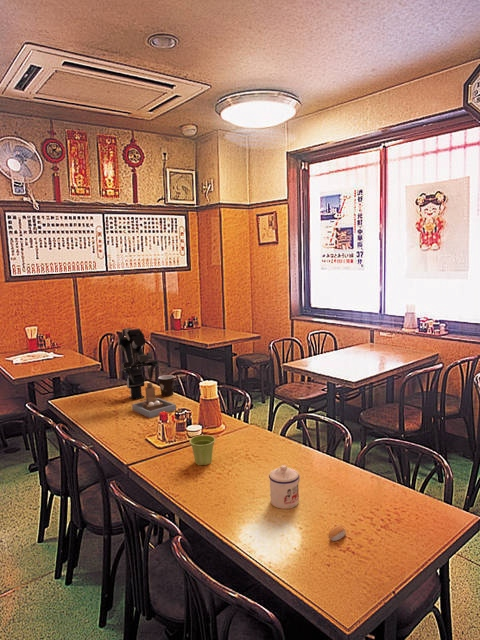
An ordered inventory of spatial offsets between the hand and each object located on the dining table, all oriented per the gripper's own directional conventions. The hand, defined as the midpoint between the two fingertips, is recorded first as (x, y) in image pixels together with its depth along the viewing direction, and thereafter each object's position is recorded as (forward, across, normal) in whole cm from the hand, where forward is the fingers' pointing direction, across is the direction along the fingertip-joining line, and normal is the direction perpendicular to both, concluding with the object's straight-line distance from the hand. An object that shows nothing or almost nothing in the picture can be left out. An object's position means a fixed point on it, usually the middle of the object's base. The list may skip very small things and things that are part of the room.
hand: (142, 381), depth 246 cm
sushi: (+75, -5, -120) cm, 142 cm away
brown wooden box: (+15, +2, -2) cm, 15 cm away
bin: (+16, +2, -2) cm, 16 cm away
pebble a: (+13, +1, -4) cm, 14 cm away
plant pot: (+47, -9, -63) cm, 79 cm away
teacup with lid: (+65, -3, -99) cm, 119 cm away
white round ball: (+13, +4, -5) cm, 14 cm away
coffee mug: (+7, +19, +13) cm, 24 cm away
